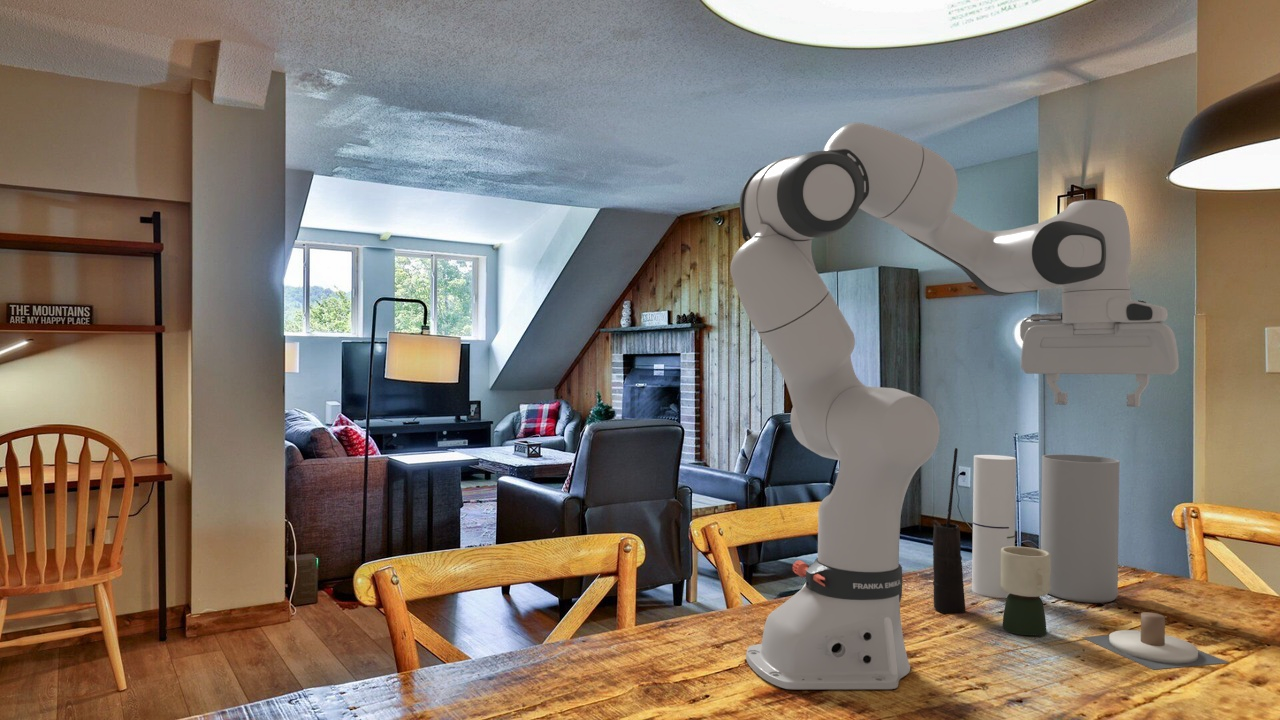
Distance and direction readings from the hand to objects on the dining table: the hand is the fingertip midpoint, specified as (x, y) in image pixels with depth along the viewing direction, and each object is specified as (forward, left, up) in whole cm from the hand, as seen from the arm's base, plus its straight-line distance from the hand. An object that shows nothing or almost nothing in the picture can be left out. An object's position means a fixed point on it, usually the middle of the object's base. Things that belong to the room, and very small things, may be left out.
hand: (1096, 405), depth 119 cm
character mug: (-5, +9, -37) cm, 38 cm away
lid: (+8, -2, -36) cm, 37 cm away
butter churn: (-10, +23, -37) cm, 44 cm away
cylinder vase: (+20, +26, -37) cm, 49 cm away
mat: (+8, -2, -36) cm, 37 cm away
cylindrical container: (+5, +30, -37) cm, 47 cm away
